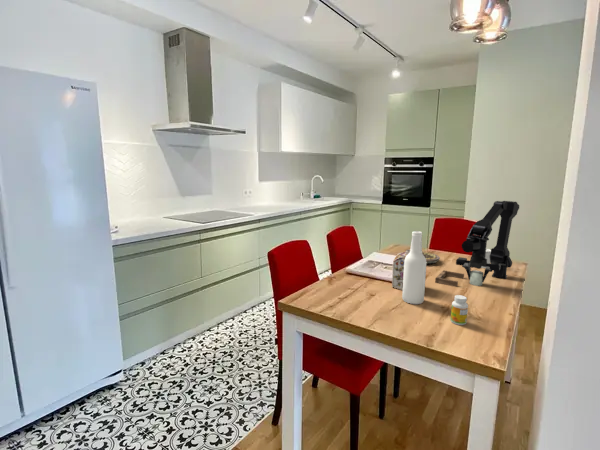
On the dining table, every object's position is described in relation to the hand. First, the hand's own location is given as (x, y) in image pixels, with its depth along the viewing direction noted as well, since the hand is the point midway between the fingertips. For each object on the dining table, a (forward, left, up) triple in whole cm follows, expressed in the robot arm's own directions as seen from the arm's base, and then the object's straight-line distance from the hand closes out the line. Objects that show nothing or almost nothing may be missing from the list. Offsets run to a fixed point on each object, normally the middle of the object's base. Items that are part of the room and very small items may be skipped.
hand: (476, 280), depth 164 cm
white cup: (-35, -2, -2) cm, 35 cm away
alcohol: (+40, -18, -2) cm, 44 cm away
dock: (+2, -12, -2) cm, 12 cm away
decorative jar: (+25, -25, -2) cm, 35 cm away
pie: (-25, -34, -2) cm, 42 cm away
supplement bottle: (+50, +2, -2) cm, 50 cm away
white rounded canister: (0, 0, -2) cm, 2 cm away
